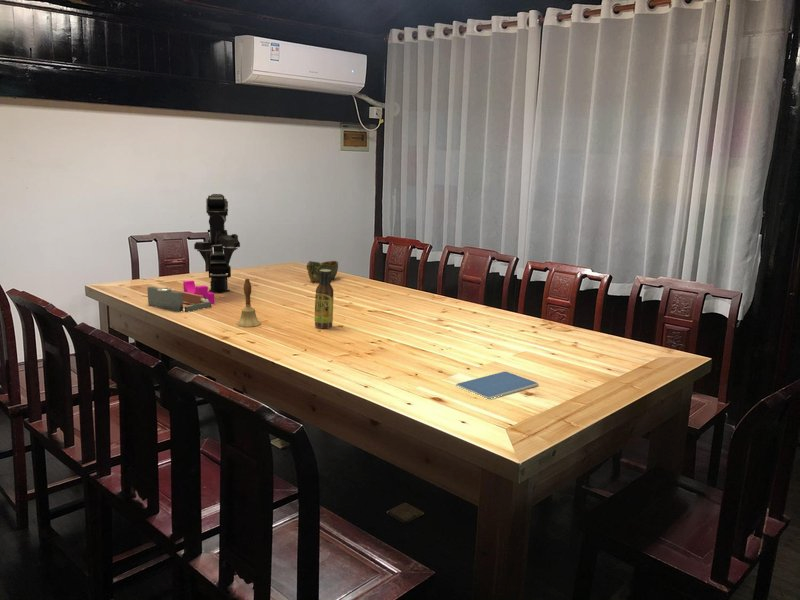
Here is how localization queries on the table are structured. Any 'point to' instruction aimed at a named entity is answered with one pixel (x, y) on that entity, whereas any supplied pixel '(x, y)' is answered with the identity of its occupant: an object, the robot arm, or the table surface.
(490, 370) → the table surface
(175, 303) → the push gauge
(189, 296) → the gauge plunger
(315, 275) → the dark green lobed piece
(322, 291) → the sauce bottle
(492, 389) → the blue notebook
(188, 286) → the toy block
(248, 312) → the hand bell
